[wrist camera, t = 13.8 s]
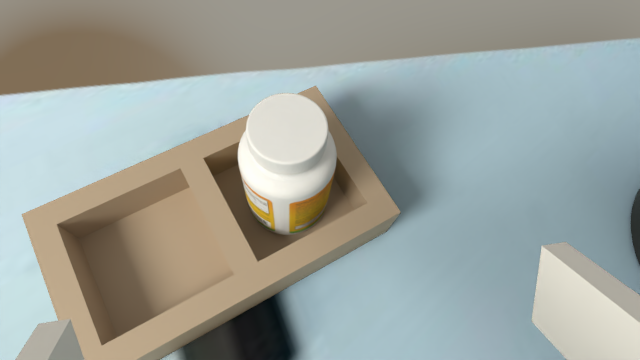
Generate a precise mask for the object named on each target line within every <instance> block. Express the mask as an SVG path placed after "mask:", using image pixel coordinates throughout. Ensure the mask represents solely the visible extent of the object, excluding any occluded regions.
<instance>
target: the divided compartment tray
mask: <svg viewBox="0 0 640 360" xmlns="http://www.w3.org/2000/svg"><path fill="white" fill-rule="evenodd" d="M298 94H299V95H302V96H305V97H307V98H309V99H311V100H312V101H314V102H315V103H316V104H317V105H318V106H319V107H320V108H321V109H322V111H323V112H324V114H325V116H326V118H327V122H328V131H329V132H330V134H331V135H332V138H333V140H334V143H335V147H336V153H337V159H336V168H335V173H334V177H333V181H332V185H331V189H330V193H329V198H328V202H327V206H326V209H325V211H324V213H323V215H322V217H321V218H320V220H319V221H318V222H317V223H316V224H315V225H314V226H313V227H311V228H310V229H308V230H306V231H304V232H301V233H298V234H293V235H282V234H276V233H273V232H271V231H269V230H267V229H265V228H264V227H263V226H261V225H260V224H259V223H258V222H257V221H256V219H255V218H254V217H253V215H252V213H251V211H250V208H249V205H248V201H247V198H246V193H245V189H244V185H243V181H242V177H241V173H240V169H239V164H238V147H239V143H240V140H241V137H242V135H243V133H244V132H245V130H246V124H247V119H248V117H249V115H248V116H245V117H243V118H241V119H238V120H236V121H234V122H232V123H229V124H227V125H225V126H223V127H220V128H218V129H216V130H213V131H211V132H209V133H207V134H204V135H202V136H200V137H197V138H195V139H193V140H191V141H188V142H186V143H184V144H181V145H179V146H177V147H175V148H172V149H170V150H168V151H165V152H163V153H161V154H159V155H156V156H154V157H152V158H149V159H147V160H145V161H143V162H140V163H138V164H136V165H133V166H131V167H129V168H127V169H124V170H122V171H120V172H117V173H115V174H113V175H111V176H108V177H106V178H104V179H101V180H99V181H97V182H95V183H92V184H90V185H88V186H85V187H83V188H81V189H79V190H76V191H74V192H72V193H69V194H67V195H65V196H63V197H60V198H58V199H56V200H53V201H51V202H49V203H47V204H44V205H42V206H40V207H37V208H35V209H33V210H31V211H28V212H26V213H24V214H22V217H23V220H24V223H25V225H26V228H27V231H28V234H29V237H30V240H31V243H32V246H33V249H34V252H35V254H36V257H37V260H38V263H39V266H40V269H41V272H42V275H43V278H44V280H45V283H46V286H47V289H48V292H49V295H50V298H51V301H52V304H53V307H54V309H55V312H56V315H57V318H58V321H60V320H66V319H71V322H72V325H73V328H74V331H75V334H76V336H77V339H78V342H79V345H80V348H81V351H82V354H83V357H84V359H85V360H160V359H162V358H163V357H165V356H167V355H169V354H170V353H172V352H174V351H176V350H178V349H179V348H181V347H183V346H185V345H186V344H188V343H190V342H192V341H193V340H195V339H197V338H199V337H201V336H202V335H204V334H206V333H208V332H209V331H211V330H213V329H215V328H217V327H218V326H220V325H222V324H224V323H225V322H227V321H229V320H231V319H232V318H234V317H236V316H238V315H240V314H241V313H243V312H245V311H247V310H248V309H250V308H252V307H254V306H255V305H257V304H259V303H261V302H263V301H264V300H266V299H268V298H270V297H271V296H273V295H275V294H277V293H278V292H280V291H282V290H284V289H286V288H287V287H289V286H291V285H293V284H294V283H296V282H298V281H300V280H302V279H303V278H305V277H307V276H309V275H310V274H312V273H314V272H316V271H317V270H319V269H321V268H323V267H325V266H326V265H328V264H330V263H332V262H333V261H335V260H337V259H339V258H340V257H342V256H344V255H346V254H348V253H349V252H351V251H353V250H355V249H356V248H358V247H360V246H362V245H363V244H365V243H367V242H369V241H371V240H372V239H374V238H376V237H378V236H379V235H381V234H383V233H385V232H387V230H388V229H389V228H390V226H391V225H392V224H393V222H394V221H395V220H396V218H397V217H398V215H399V214H400V213H401V212H400V210H399V209H398V207H397V206H396V204H395V203H394V201H393V200H392V198H391V197H390V195H389V194H388V192H387V191H386V189H385V188H384V186H383V185H382V183H381V182H380V180H379V179H378V178H377V176H376V175H375V173H374V172H373V170H372V169H371V167H370V166H369V164H368V163H367V161H366V160H365V158H364V157H363V155H362V154H361V152H360V151H359V149H358V148H357V146H356V145H355V143H354V142H353V140H352V139H351V137H350V136H349V134H348V133H347V131H346V130H345V128H344V127H343V125H342V124H341V122H340V121H339V119H338V118H337V117H336V115H335V114H334V112H333V111H332V109H331V108H330V106H329V105H328V103H327V102H326V100H325V99H324V97H323V96H322V94H321V93H320V91H319V90H318V88H317V87H316V86H314V87H312V88H309V89H307V90H305V91H302V92H300V93H298Z"/></svg>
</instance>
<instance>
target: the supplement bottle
mask: <svg viewBox="0 0 640 360" xmlns="http://www.w3.org/2000/svg"><path fill="white" fill-rule="evenodd" d="M336 159H337V153H336V147H335V143H334V140H333V138H332V135H331V134H330V132H329V131H328V122H327V118H326V116H325V114H324V112H323V111H322V109H321V108H320V107H319V106H318V105H317V104H316V103H315V102H314V101H312V100H311V99H309V98H307V97H305V96H302V95H299V94H294V93H280V94H275V95H272V96H269V97H267V98H265V99H263V100H262V101H260V102H259V103H258V104H257V105H256V106H255V107H254V108H253V109H252V111H251V113H250V114H249V117H248V119H247V124H246V130H245V132H244V133H243V135H242V137H241V140H240V143H239V147H238V164H239V169H240V173H241V177H242V181H243V185H244V189H245V193H246V198H247V201H248V205H249V208H250V211H251V213H252V215H253V217H254V218H255V219H256V221H257V222H258V223H259V224H260V225H261V226H263V227H264V228H265V229H267V230H269V231H271V232H273V233H276V234H282V235H293V234H298V233H301V232H304V231H306V230H308V229H310V228H311V227H313V226H314V225H315V224H316V223H317V222H318V221H319V220H320V218H321V217H322V215H323V213H324V211H325V209H326V206H327V202H328V198H329V193H330V189H331V185H332V181H333V177H334V173H335V168H336Z"/></svg>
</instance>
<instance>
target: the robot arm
mask: <svg viewBox="0 0 640 360" xmlns="http://www.w3.org/2000/svg"><path fill="white" fill-rule="evenodd" d="M631 233H632V240H633V245H634V249H635V253H636V256H637V259H638V262H639V264H640V189H639V191H638V193H637V195H636V197H635V200H634V204H633V208H632V214H631ZM532 322H533V323H534V325H535V326H536V327H537V328H538V329H539V330H540V331H541V332H542V333H543V334H544V335H545V336H546V337H547V339H548V340H549V341H550V342H551V343H552V344H553V345H554V346H555V347H556V348H557V349H558V350H559V351H560V353H561V354H562V355H563V356H564V357H565V358H566V359H567V360H640V295H639V294H637V293H636V292H634V291H633V290H632V289H630V288H629V287H627V286H626V285H625V284H623V283H622V282H621V281H619V280H618V279H616V278H615V277H614V276H612V275H611V274H609V273H608V272H607V271H605V270H604V269H602V268H601V267H600V266H598V265H597V264H596V263H594V262H593V261H591V260H590V259H589V258H587V257H586V256H584V255H583V254H582V253H580V252H579V251H577V250H576V249H575V248H573V247H572V246H571V245H569V244H568V243H566V242H563V243H556V244H550V245H543V246H542V249H541V256H540V263H539V270H538V277H537V285H536V292H535V299H534V306H533V313H532ZM15 360H85V359H84V357H83V354H82V351H81V348H80V345H79V342H78V339H77V336H76V334H75V331H74V328H73V325H72V322H71V319H66V320H60V321H54V322H47V323H41V324H38V325H37V327H36V328H35V330H34V332H33V333H32V335H31V336H30V338H29V339H28V341H27V342H26V344H25V345H24V347H23V349H22V350H21V352H20V353H19V355H18V356H17V358H16V359H15Z"/></svg>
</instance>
